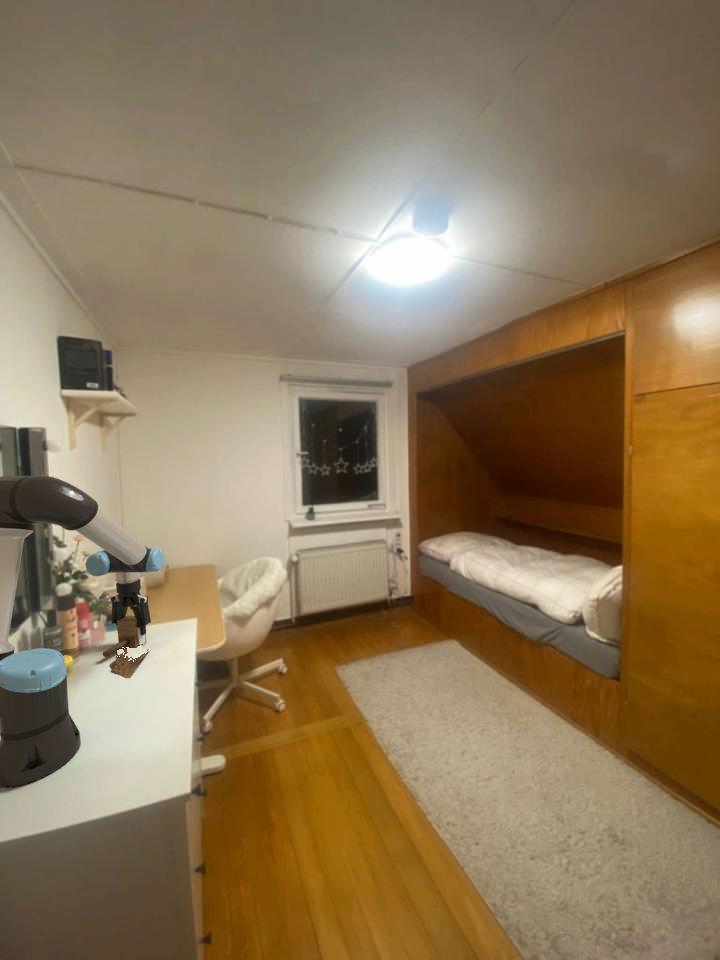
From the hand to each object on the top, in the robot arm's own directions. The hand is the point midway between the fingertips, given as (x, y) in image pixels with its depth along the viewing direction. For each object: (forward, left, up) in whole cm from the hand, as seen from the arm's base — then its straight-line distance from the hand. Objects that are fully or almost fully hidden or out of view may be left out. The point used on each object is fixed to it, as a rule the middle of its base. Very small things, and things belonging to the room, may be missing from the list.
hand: (132, 642), depth 139 cm
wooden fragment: (-9, -7, -2) cm, 11 cm away
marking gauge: (-4, 0, -1) cm, 5 cm away
